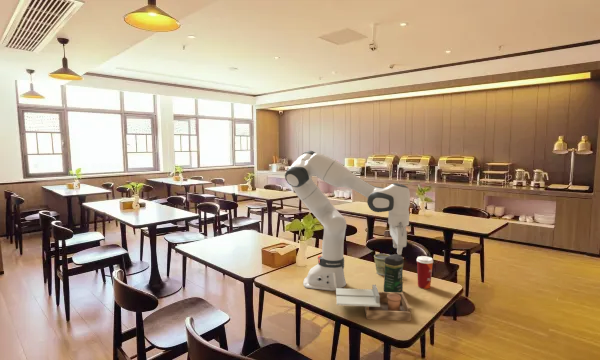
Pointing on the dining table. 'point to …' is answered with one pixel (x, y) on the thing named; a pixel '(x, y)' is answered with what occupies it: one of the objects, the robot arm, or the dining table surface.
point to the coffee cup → (424, 271)
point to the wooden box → (383, 310)
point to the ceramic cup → (380, 263)
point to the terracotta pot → (393, 302)
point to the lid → (358, 297)
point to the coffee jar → (393, 273)
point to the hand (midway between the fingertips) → (397, 250)
